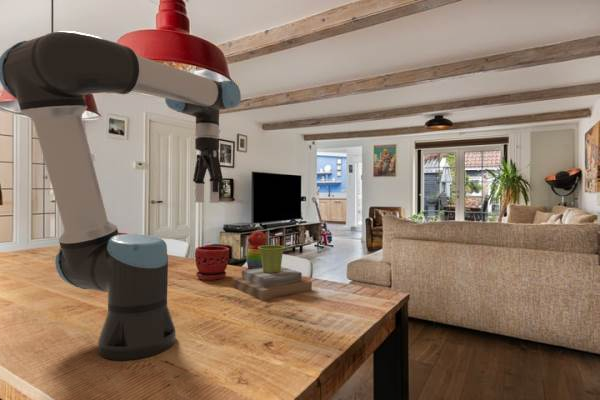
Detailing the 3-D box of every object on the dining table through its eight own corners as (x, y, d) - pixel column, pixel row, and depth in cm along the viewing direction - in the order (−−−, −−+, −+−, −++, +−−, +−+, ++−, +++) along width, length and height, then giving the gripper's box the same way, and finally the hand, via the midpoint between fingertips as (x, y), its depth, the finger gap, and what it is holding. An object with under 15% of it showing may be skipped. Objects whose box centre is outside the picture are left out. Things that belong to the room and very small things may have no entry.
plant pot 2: (254, 274, 118) (255, 248, 117) (261, 268, 127) (261, 244, 127) (282, 275, 116) (282, 249, 116) (287, 269, 126) (287, 245, 125)
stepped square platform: (311, 290, 120) (311, 272, 120) (261, 300, 108) (261, 281, 108) (279, 279, 136) (279, 263, 136) (232, 286, 124) (232, 270, 124)
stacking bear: (251, 270, 152) (251, 229, 152) (273, 271, 149) (273, 230, 149) (240, 275, 142) (240, 231, 142) (262, 277, 139) (262, 232, 139)
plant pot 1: (211, 283, 129) (211, 251, 129) (188, 278, 136) (188, 247, 136) (236, 276, 140) (236, 246, 140) (213, 272, 147) (213, 244, 147)
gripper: (233, 134, 107) (232, 203, 106) (205, 144, 127) (204, 202, 127) (210, 130, 102) (209, 202, 102) (184, 142, 123) (183, 202, 123)
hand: (206, 202), depth 115 cm, fingers open, 13 cm apart
